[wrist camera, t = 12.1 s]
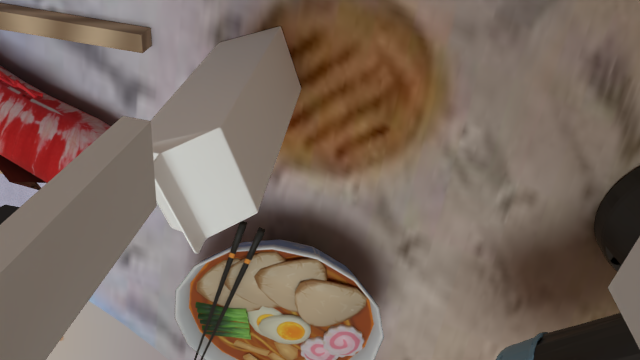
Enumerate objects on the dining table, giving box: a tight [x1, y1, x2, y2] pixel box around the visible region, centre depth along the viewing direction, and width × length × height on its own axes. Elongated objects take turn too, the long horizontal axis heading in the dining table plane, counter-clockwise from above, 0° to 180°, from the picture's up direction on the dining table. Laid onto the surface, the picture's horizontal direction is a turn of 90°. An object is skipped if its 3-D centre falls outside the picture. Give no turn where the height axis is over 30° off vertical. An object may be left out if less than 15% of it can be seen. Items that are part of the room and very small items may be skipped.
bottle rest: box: [0, 3, 152, 174], centre depth 47 cm, size 26×18×2 cm
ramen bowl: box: [175, 221, 384, 360], centre depth 55 cm, size 25×23×8 cm
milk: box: [151, 26, 301, 254], centre depth 35 cm, size 6×6×22 cm
